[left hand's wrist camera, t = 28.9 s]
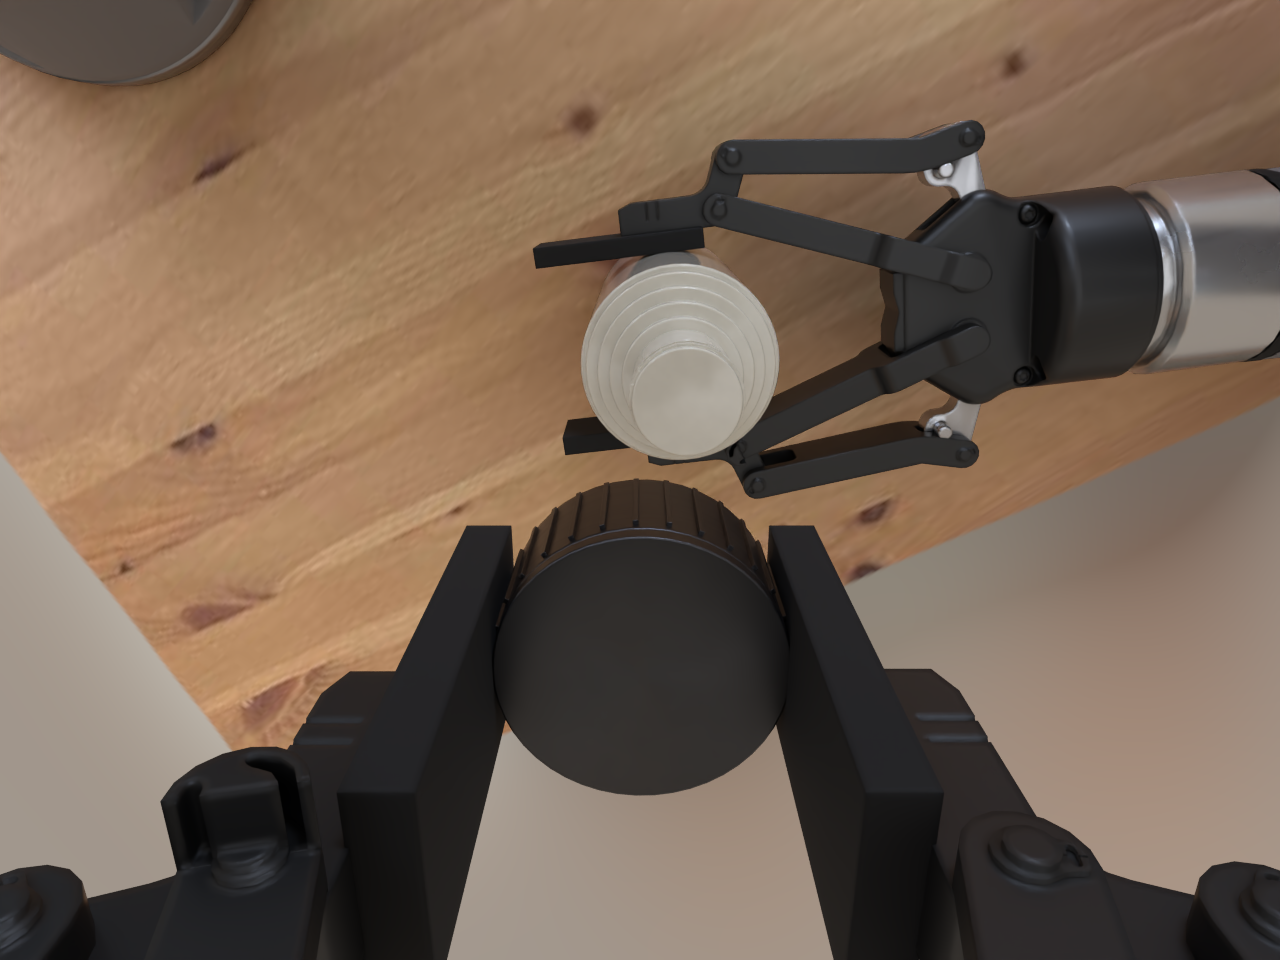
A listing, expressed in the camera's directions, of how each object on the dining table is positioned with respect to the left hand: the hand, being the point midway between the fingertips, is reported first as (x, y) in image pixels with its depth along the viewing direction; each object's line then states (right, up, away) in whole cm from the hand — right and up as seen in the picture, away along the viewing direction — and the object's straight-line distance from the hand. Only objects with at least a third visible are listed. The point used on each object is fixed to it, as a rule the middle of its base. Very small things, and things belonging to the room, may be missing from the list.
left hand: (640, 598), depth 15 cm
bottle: (+1, +10, +26) cm, 28 cm away
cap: (0, -1, -2) cm, 2 cm away
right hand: (-4, +7, +20) cm, 22 cm away
